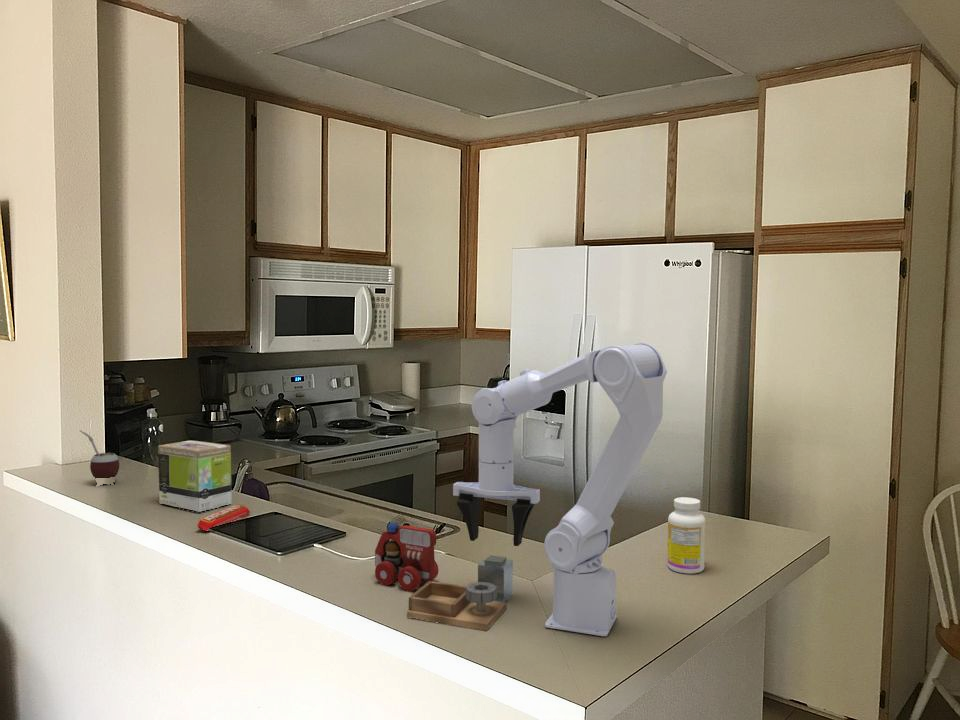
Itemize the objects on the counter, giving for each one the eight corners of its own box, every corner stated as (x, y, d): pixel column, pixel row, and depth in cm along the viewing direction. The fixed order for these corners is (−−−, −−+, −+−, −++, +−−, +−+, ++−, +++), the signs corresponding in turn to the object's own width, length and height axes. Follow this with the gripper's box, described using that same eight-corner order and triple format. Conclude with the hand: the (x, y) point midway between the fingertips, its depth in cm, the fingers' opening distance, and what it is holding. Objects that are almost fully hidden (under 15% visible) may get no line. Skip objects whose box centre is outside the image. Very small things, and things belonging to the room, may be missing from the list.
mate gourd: (125, 482, 210) (124, 427, 209) (102, 489, 202) (100, 432, 201) (104, 480, 212) (103, 425, 211) (80, 486, 205) (78, 430, 204)
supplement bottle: (679, 560, 148) (681, 493, 147) (711, 568, 143) (712, 500, 142) (660, 568, 143) (661, 500, 142) (692, 577, 139) (694, 506, 138)
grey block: (512, 594, 130) (512, 556, 130) (503, 604, 126) (503, 564, 126) (487, 591, 132) (487, 553, 132) (477, 600, 128) (477, 561, 127)
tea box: (233, 505, 187) (232, 444, 186) (198, 514, 179) (196, 451, 178) (193, 496, 195) (191, 438, 194) (157, 505, 187) (156, 444, 186)
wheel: (500, 594, 122) (500, 584, 122) (490, 605, 118) (490, 594, 118) (472, 590, 124) (472, 580, 124) (461, 600, 119) (461, 590, 119)
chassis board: (506, 608, 124) (506, 585, 124) (486, 630, 116) (486, 605, 116) (430, 597, 129) (431, 574, 129) (406, 617, 120) (406, 593, 120)
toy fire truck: (390, 570, 142) (390, 514, 141) (446, 583, 136) (446, 524, 135) (365, 581, 136) (365, 523, 136) (422, 595, 130) (422, 534, 129)
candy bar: (208, 535, 164) (208, 521, 163) (194, 533, 165) (193, 519, 164) (253, 515, 179) (252, 502, 179) (239, 514, 180) (239, 501, 180)
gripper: (545, 459, 129) (544, 539, 130) (464, 452, 134) (464, 530, 135) (533, 467, 122) (532, 552, 123) (448, 460, 127) (447, 541, 128)
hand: (495, 541), depth 128 cm, fingers open, 7 cm apart
